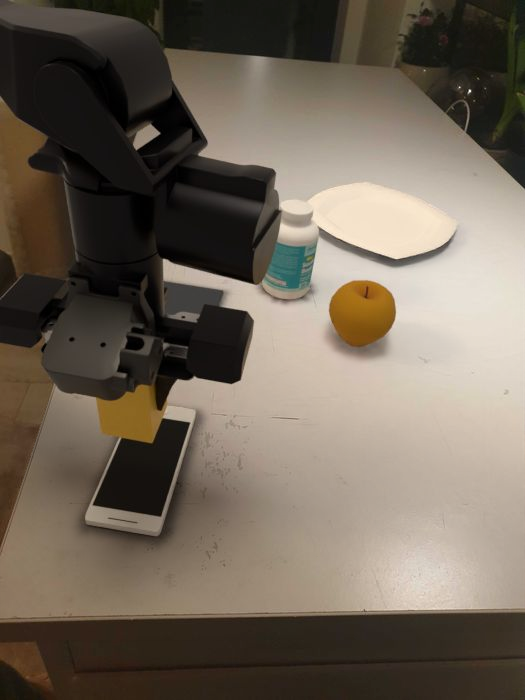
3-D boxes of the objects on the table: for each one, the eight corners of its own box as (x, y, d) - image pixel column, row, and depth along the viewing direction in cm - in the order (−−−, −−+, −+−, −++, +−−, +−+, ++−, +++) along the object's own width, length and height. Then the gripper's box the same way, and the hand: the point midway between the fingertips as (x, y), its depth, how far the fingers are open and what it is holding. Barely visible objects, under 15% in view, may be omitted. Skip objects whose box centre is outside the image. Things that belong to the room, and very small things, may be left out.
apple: (352, 312, 78) (365, 260, 72) (400, 343, 74) (418, 291, 68) (310, 334, 73) (320, 280, 68) (358, 369, 69) (374, 315, 63)
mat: (107, 348, 67) (106, 345, 67) (145, 280, 80) (145, 278, 79) (198, 363, 67) (198, 360, 67) (223, 293, 79) (223, 290, 79)
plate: (398, 280, 86) (401, 270, 85) (278, 217, 99) (279, 207, 98) (473, 232, 102) (477, 223, 101) (361, 183, 115) (363, 174, 114)
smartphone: (196, 414, 60) (196, 408, 60) (159, 537, 49) (159, 532, 48) (135, 404, 60) (135, 399, 60) (84, 524, 49) (83, 519, 48)
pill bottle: (306, 305, 79) (321, 223, 70) (257, 297, 79) (266, 214, 70) (310, 278, 84) (325, 199, 75) (265, 271, 85) (274, 191, 76)
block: (101, 434, 45) (88, 356, 39) (120, 397, 48) (111, 320, 43) (152, 443, 45) (147, 366, 39) (167, 405, 48) (165, 329, 42)
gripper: (-95, 284, 29) (-23, 456, 40) (232, 341, 28) (220, 502, 39) (8, 200, 38) (45, 360, 48) (263, 242, 37) (246, 396, 47)
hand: (133, 402), depth 45 cm, fingers closed on block, 4 cm apart
